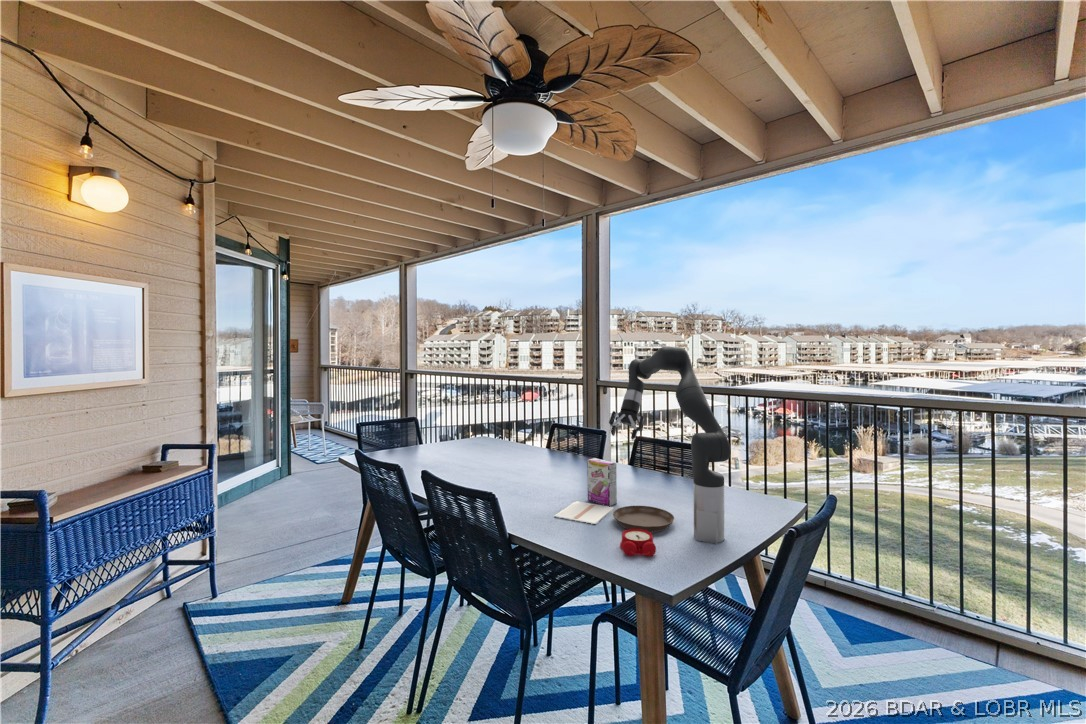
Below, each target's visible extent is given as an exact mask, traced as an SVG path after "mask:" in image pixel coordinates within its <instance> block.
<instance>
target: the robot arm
mask: <svg viewBox="0 0 1086 724" xmlns="http://www.w3.org/2000/svg"><path fill="white" fill-rule="evenodd" d="M660 370H663V371H672V372H678V373H679V375H680V381H679V382H678V385H677V387H676V389H675V398H676V400H677V403H678V406H679V409H680V410H681V412H682V413H683V414H684V415H685V416H686V417H687V418H688V419H690V420H691V421H692V422H694V423H695V424H696V425H698V426H699V427H700V428H701V429H702V430H703V431H704V432H698V433H697V432H696V433H694V434H693V435H692V437H691V440H690V441H691V443H690V451H691V452H690V453H691V467H692V468H691V470H692V471H691V472H692V478H693V479H692V481H693V485H692V486H693V488H692V489H693V491H692V493H693V496H692V497H693V500H692V501H693V536H694V538H695V540H696V541H699V542H704V543H710V544H715V545H716V544H719V543H721V542H723V541H725V477H724V475H723V474H722V473H720V472H718V471H714V470H711V469H709V466H708V463H722V462H726V461H728V460H729V459H730V457H731V455H732V451H731V445H730V442H729V439H728V437H727V435H726V433H725V432H724V430H723V428H722V427H721V424H720V423H719V422H718V420H717V418H716V417H715V415H714V413H713V410H712V408H711V407H710V405H709V404H710V403H709V402H708V400H707V397H706V394H705V393H704V391H703V388H702V387H701V385H700V383H699V381H698V378H697V376H696V374H695V371H694V368H693V365H692V362H691V359H690V356H689V353H688V351H687V349H685V348H683V347H681V346H670V345H669V346H667V345H666V346H662V347H660V348H658V349H657V350H656V351H655V352H654V353H653V354H652V355H651V356H650V357H647V358H645V359H642V360H639V359H637V358H636V359H633V360H631V362H630V363H629V365H628V383H627V389H626V391H625V394H624V396H623V401H622V404H621V407H620V411H618V412H616V411H615V410H613V411H612V413H611V416H610V417H609V421H608V424H609V425H610V426H611V429H610V433H611V436H613V437H615V435H616V432H617V427H618V426H621V425H627V426H630V425H632V428H633V430H632V433H631V436H630V439H631V440H635V439H636V437H637V435H638V432H642V431H643V429H644V423H645V417H644V416H643V415H641V416H640V415H639V411H640V408H641V404H642V400H643V399H642V397H643V393H644V389H645V386H646V385H645V383H644V381H642V380H641V379H643V380H649V379H650V378H651V377H652V375H654V374H657V373H658V372H659V371H660ZM617 417H618V418H617ZM616 418H617V419H616ZM636 421H638V422H639V423H638V426H637V425H636V423H635V422H636Z"/></svg>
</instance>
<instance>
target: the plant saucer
mask: <svg viewBox="0 0 1086 724" xmlns="http://www.w3.org/2000/svg"><path fill="white" fill-rule="evenodd" d="M612 516H613V518H614V520H615V521H616V522H617V523H618V524H619V525H620V526H621V527H622V528H625V529H626V530H629V529H642V530H646V531H648V532H650V533H657V532H658V533H659V532H663V531H664V530H666V529H668V528H669V527H670V526H671V525H672V524H673V522H674V521H675V516H674V514H672V512H669V511H668V510H665V509H663V508H659V507H655V506H648V505H628V506H626V505H625V506H623V507H622V506H621V507H619V508H617V509H614V510H613V511H612Z"/></svg>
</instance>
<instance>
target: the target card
mask: <svg viewBox="0 0 1086 724" xmlns="http://www.w3.org/2000/svg"><path fill="white" fill-rule="evenodd" d="M613 509H614V510H615V506H614V507H613V506H610V507H609V506H606V505H603V504H595V503H588V502H582V501H577V500H576V501H573V502H572V503H571V504H569V505H568V506H566V507H565V508H564V509H562V510H561V511H559V512H558V513H555V515H554V516H557V517H561V518H566V519H571V520H575V521H574V522H576V521H580V522H579V523H581V522H586V523H585V524H587V523H591V524H590V525H592V524H596V525H597V524H599V523H600V522H601V521H602V520H603V519H604V518H606V517H607V516H608V515H609V514H610V513H612V512H613V511H614V510H613ZM612 510H613V511H612ZM608 513H609V514H608ZM607 514H608V515H607ZM606 515H607V516H606ZM601 519H602V520H601ZM571 520H570V521H571ZM600 520H601V521H600ZM599 521H600V522H599Z"/></svg>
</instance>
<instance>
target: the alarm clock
mask: <svg viewBox="0 0 1086 724" xmlns="http://www.w3.org/2000/svg"><path fill="white" fill-rule="evenodd" d="M619 547H620V549H621V550H622V551H623V553H624V555H626V556H628V557H633V556H636V555H638V556H644V557H653V556H654V555H655V554H656V552H657V548H656V544H655V543H654V536H653V534H652V532H648V531H646V530H642V529H626V530H625V529H623V531H622V534H621V541H620V544H619Z"/></svg>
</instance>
